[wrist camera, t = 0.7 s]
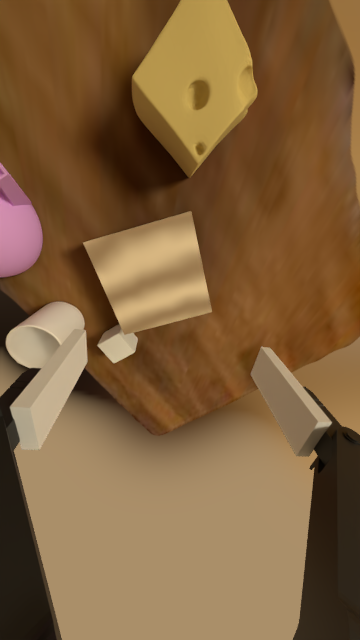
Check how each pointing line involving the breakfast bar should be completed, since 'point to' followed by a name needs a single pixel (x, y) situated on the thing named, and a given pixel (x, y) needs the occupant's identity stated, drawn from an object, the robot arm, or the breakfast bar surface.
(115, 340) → the beige block
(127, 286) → the oak block
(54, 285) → the breakfast bar surface
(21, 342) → the mug
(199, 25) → the cheese
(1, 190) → the teapot
